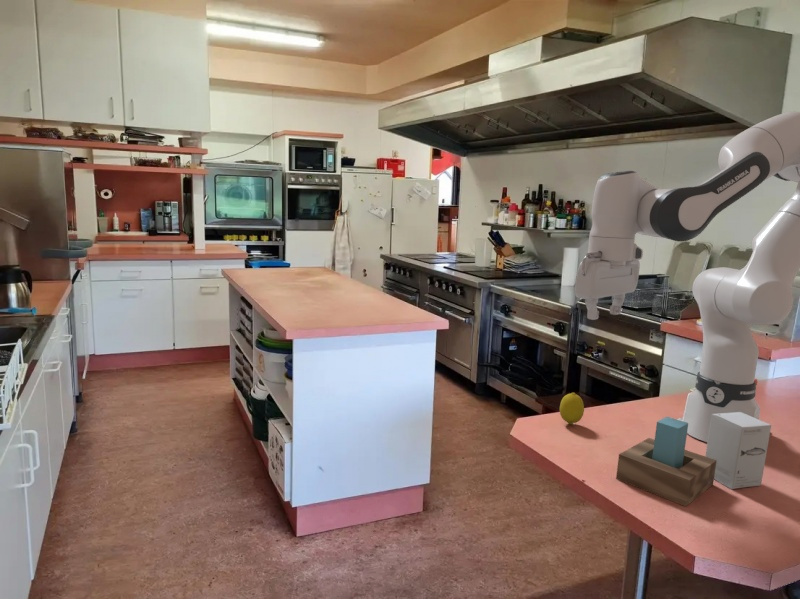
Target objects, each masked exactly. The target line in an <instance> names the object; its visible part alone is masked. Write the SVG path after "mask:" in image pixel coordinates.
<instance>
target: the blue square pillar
mask: <svg viewBox="0 0 800 599" xmlns="http://www.w3.org/2000/svg"><path fill="white" fill-rule="evenodd" d="M677 419H678V418H677ZM677 419H676V418H674V417H673V418H672V417H670V416H665V417H663V418H661V419H660V420H657V422H656V427H655V433H654V440H655V441H654V448H653V456H652V460H655V461H658V462H660V463H663V464H666V465H669V466H672V467H674V468H677V469H680V468H682V465H683V458H684V451H685V450H686V444H687V443H686V442H687V436H688V433H687V430H688V423H687V422H683V421H680V420H677Z"/></svg>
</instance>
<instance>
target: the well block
mask: <svg viewBox="0 0 800 599" xmlns="http://www.w3.org/2000/svg"><path fill="white" fill-rule="evenodd" d="M654 441H655V438H651V437H648V438H647V439H645V440H642V441H640V442H639V443H637V444H636V445H633V446H631V447H630V448H628V449H626V450H625V451H622V452H620V453H619V454H618V459H617V460H618V461H617V469H616V476H615V479H616V480H618V481H620V482H624V483H626V484H628V485H631V486H634V487H637V488H638V489H641V490H643V491H646V492H647V493H651V494H654V495H656V496H658V497H661V498H663V499H665V500H669V501H670V502H673V503H676V504H679V505H681V506H683V507H686V508H687V507H688V506H689V505H690V504H691V503H692V502H694V501H695V500H696V499H697V498H699V497H700V496H701V495H702V494H704V493H705V492H706V491H707V490H708V489H710V488H711V487H712V486H714V481H715V479H714V475H715V468H716V462H717V460H714V459H711V458H708V457H705V455H702V454H698V453H696V452H693V451H690V450H686V449H685V451H684V458H683V465H682V468H680V469H677V468H674V467H672V466H669V465H666V464H663V463H660V462H658V461H655V460H652V456H653V448H654Z"/></svg>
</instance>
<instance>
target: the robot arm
mask: <svg viewBox="0 0 800 599" xmlns="http://www.w3.org/2000/svg"><path fill="white" fill-rule="evenodd" d="M717 159H718V161H717V162H718V167H719V172H717V173H715V174H714V175H713V176H711V177H710V178H708V179H707V180H705V181H703V182H702V183H700V184H698V185H696V186H688V187H687V186H686V187H679V188H678V187H677V188H663V189H662V188H659V187H657V186H655V185H653V184H651V183H649V182H647V181H645V180H644V179H643V178H642V177H641V176H640V175H639V174H638V172H637V171H634V170H623V171H615V172H609V173H605V174H603V175H601V176H600V177H599V178H598V179H597V182H596V185H595V187H594V192H593V196H592V205H591V215H590V216H591V221H592V224H591V225H592V226H591V229H590V231H589V235H588V247H587V253H586V254H585V256H584V258H582V260H581V262H580V263H579V265H578V268H577V272H576V278H575V283H574V284H575V285H574V295H575V297H576V298H578V299H583V300H584V304H585V307H586V309H587V310H586V311H587V314H586V316H587V317H586V318H587V319H588V320H591V321H594V320H595V321H596V320H598V319H599V318H600V316H599V315H600V310H598V306H597V304H598V303H599V299H602V298H609V297H612V298H613V299H612V300H613V301H612V304H611V305H610V306H609V314H610V315H613V316H616V315H620V314H621V312H622V311H621V310H622V307H623V303H624V302H625V299H626V294H631V293H634V292H635V290H636V289H637V286H638V284H639V283H638V282H639V276H640V268H641V264H640V260H642V259H643V255H644V251H643V248H641V247H640V246H638V245H637V243H635V241H636V240H635V237H636V234H639V235H642V236H648V237H652V238H653V237H654V238H661V239H667V240H671V241H673V242H674V241H675V242H687V241H690V240H693V239H695V238H696V237H698V236H699V235H700V234H702V233H703V232H704V231H705V229H706V228H707V227H708V225H709V224H710V223H711V222H712V221H713V219H714V218H715V217H716V216H717V215H719V214H720V213H721V212H722V211H724V210H725V209H727V208H728V207H729V206H731V205H733V204H734V203H736V202H737V201H738V200H740V199H741V198H743V197H745V195H747V194H748V193H750V192H751V191H753V190H755V188H757V187H758V186H760V185H761V184H762V183H763V182H764V181H766V180H768V179H769V178H771V177H772V176H773V177H774V178H777V179H779V180H783V181H786V182H787V181H788V182H789V181H790V182H791V181H792V182H795V183H797V185H796V188H795V191H794V193H793V194H792V196H791V197H790V198H788V200H786V202H785V203H783V204H782V205H781V207H780V208H779V209H778V210H777V211H776V212H775V213H774V214H773V215H772V216H771V218H770V219H769V220H768V221H767V222H766V223H765V224H764V225H763V227H762V228H761V229H760V230H759V231H758V232H757V233H756V235H754V237H753V238H752V241H751V250H752V253H751V256H750V257H749V259H748V261H747V262H746V265H745V266H744V267H742V268H741V269H737V268H731V267H728V266H727V267H726V266H724V267H723V266H722V267H721V266H720V267H712V268H708V269H705V270H703V271H702V272H700V273H699V274H698V275H697V276H696V277H695V278H694V280H693V283H692V288H691V289H692V296H693V297H694V300H695V301H696V303H697V306H698V310H699V313H700V320H701V327H702V348H701V349H702V351H701V359H700V367H699V372H697V373H696V374H697V375H696V377H695V386H694V387H695V389H694V390H692V391H690V392H688V394H687V398H686V401H685V407H684V411H683V416H682V417H679V418H677V420H680V421H683V422H687V423H688V430H687V435H689V436H691V437H693V438H695V439H696V440H700V441H702V442H705V443H707V442H708V436H709V429H710V423H711V417H712V414H719V413H733V412H742V413H744V414H747V415H749V416H751V417H754V418H756V419H759V420H760V413H761V407H760V405H759V403H758V402H757V401H756V399H755V398H756V392H757V385H758V379H757V378H756V373H757V365H758V360H759V353H760V351H759V345H758V344H757V342H756V340H755V338H754V337H753V334H752V330H751V325H754V326H755V325H756V326H758V325H759V326H773V325H776V324H779V323H782V321H784V320H785V319H786V318H787V317H789V315H790V313H791V311H792V309H793V305H794V296H793V293H792V287H793V284H794V281H795V278H796V276H797V274H798V273H799V271H800V111H794V110H793V111H787V112H784V113H780V114H777V115H774V116H771V117H769V118H767V119H764V120H763V121H761V122H758V123H756V124H754V125H752V126H750V127H749V128H747V129H745V130H744V131H741V132H740V133H737V135H735V136H733V137H732V138H731V139H729V140H728V141H727V142H726V143H725V144H724V145H723V146H722V147H721V148H720V151H719V154H718V157H717Z"/></svg>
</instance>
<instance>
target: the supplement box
mask: <svg viewBox="0 0 800 599" xmlns="http://www.w3.org/2000/svg"><path fill="white" fill-rule="evenodd" d="M771 429H772V424H771V423H768V422H766V421H763V420H762V419H761V420H760V418H759V419H756V418H754V417H751V416H749V415H747V414H744V413H742V412H733V413H719V414H712V417H711V423H710V429H709V436H708V442H706V449H705V450H706V451H705V455H704V456H705V457H708V458H711V459H714V460H717V462H716V468H715V475H714V481H717V483H719V484H722V485H723V486H725V487H727V488H729V490H735V489H741V488H749V487H760V486H762V481H763V476H764V470H765V464H766V459H767V453H768V446H769V443H770V442H769V440H770V435H771Z"/></svg>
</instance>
